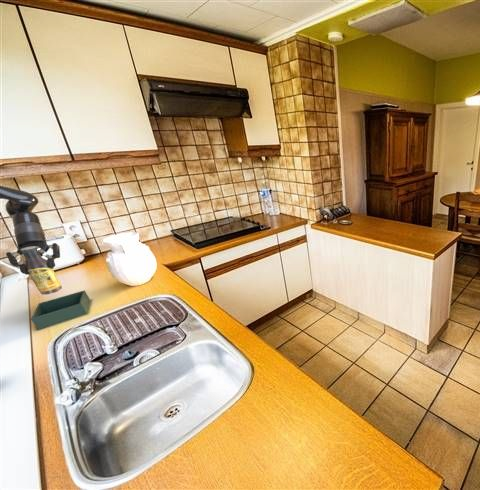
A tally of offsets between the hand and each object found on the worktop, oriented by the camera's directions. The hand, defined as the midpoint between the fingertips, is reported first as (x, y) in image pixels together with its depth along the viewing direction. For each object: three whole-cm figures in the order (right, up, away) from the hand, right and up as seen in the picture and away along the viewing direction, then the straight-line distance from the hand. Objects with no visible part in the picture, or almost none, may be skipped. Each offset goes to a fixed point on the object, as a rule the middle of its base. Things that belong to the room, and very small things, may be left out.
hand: (39, 270), depth 106 cm
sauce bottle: (-1, -9, +5) cm, 11 cm away
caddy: (+1, -20, +9) cm, 22 cm away
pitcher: (+13, -9, +33) cm, 36 cm away
